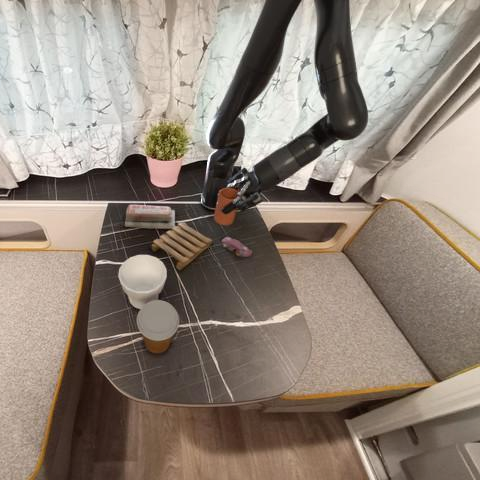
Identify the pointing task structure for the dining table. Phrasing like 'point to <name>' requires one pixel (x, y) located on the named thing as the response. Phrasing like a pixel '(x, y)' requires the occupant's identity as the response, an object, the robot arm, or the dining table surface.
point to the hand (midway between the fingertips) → (221, 204)
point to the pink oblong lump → (236, 247)
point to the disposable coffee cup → (157, 324)
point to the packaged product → (150, 217)
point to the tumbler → (223, 199)
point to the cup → (142, 279)
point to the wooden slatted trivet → (174, 235)
